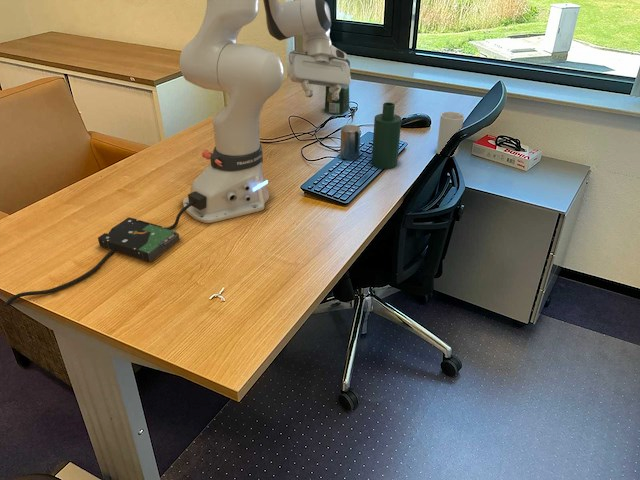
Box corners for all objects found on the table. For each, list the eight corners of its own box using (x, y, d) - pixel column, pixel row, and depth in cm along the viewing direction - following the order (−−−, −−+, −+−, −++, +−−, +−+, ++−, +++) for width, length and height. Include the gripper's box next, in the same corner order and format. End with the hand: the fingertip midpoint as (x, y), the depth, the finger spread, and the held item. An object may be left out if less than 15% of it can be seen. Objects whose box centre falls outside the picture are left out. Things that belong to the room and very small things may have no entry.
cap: (348, 161, 158) (349, 133, 153) (336, 155, 161) (337, 127, 156) (362, 157, 161) (364, 128, 156) (350, 151, 164) (351, 123, 159)
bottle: (384, 171, 153) (388, 110, 143) (366, 162, 157) (369, 103, 148) (402, 164, 156) (408, 105, 146) (384, 155, 161) (389, 98, 151)
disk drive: (99, 248, 120) (151, 263, 114) (96, 238, 118) (149, 253, 113) (130, 226, 128) (180, 239, 122) (128, 216, 126) (179, 229, 121)
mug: (452, 159, 159) (457, 121, 153) (431, 153, 163) (436, 116, 156) (466, 148, 166) (472, 111, 159) (446, 143, 169) (451, 107, 163)
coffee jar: (332, 105, 199) (333, 54, 189) (351, 108, 196) (353, 57, 186) (321, 113, 192) (321, 61, 181) (341, 116, 189) (342, 63, 179)
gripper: (293, 44, 154) (297, 90, 153) (351, 54, 164) (355, 97, 163) (283, 53, 159) (287, 98, 158) (340, 63, 170) (344, 104, 169)
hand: (322, 98), depth 161 cm, fingers open, 8 cm apart
